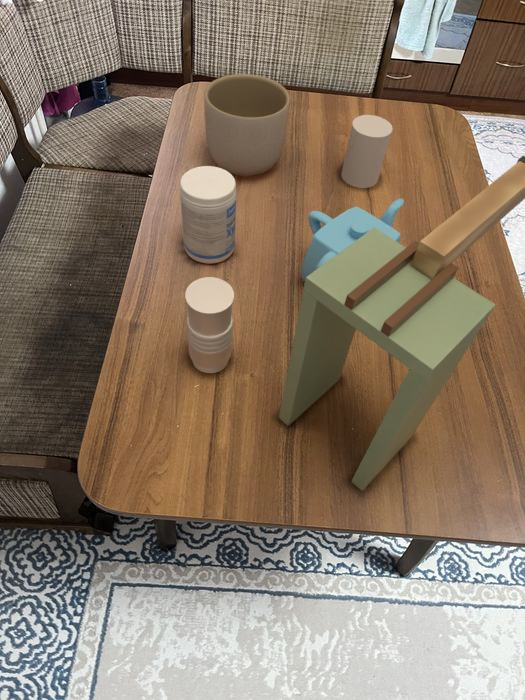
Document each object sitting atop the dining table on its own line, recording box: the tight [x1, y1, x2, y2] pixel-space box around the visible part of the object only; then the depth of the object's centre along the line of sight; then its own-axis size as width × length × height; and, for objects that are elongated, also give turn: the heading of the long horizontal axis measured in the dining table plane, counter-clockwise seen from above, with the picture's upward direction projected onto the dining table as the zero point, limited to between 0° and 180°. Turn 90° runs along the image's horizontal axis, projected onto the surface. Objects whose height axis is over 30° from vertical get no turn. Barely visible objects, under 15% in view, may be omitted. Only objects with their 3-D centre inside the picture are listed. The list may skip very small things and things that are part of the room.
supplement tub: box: [179, 165, 237, 264], centre depth 94 cm, size 10×10×15 cm
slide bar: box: [411, 155, 525, 279], centre depth 61 cm, size 3×23×4 cm, turn 136°
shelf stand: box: [278, 227, 496, 492], centre depth 67 cm, size 16×12×32 cm
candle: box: [184, 276, 235, 374], centre depth 79 cm, size 7×7×15 cm
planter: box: [203, 73, 291, 177], centre depth 111 cm, size 17×17×15 cm
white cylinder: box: [340, 114, 393, 189], centre depth 112 cm, size 8×8×12 cm
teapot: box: [301, 198, 405, 282], centre depth 93 cm, size 18×16×14 cm
